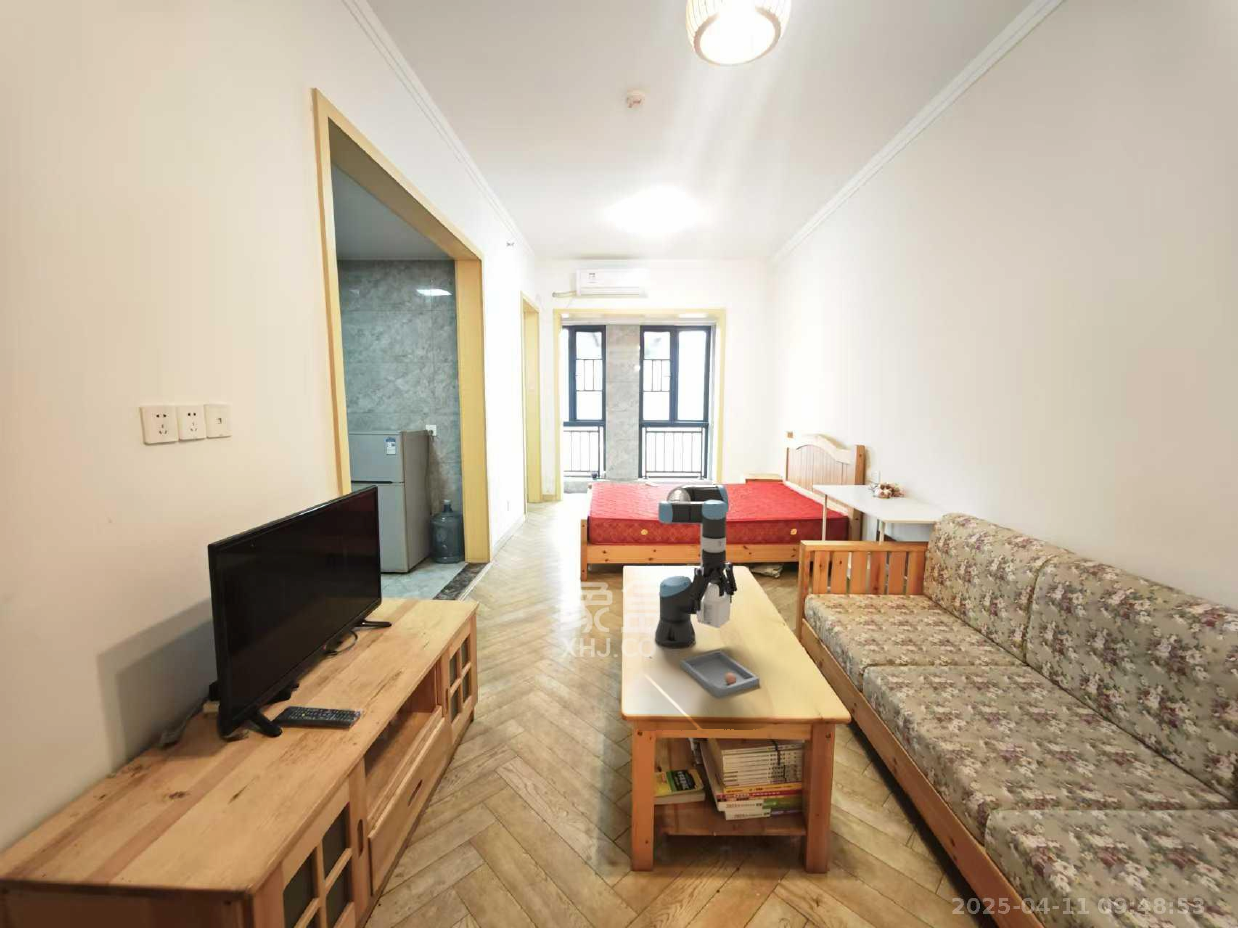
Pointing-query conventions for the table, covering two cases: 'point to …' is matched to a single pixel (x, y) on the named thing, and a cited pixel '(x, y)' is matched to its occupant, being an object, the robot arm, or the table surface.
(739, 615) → the table surface
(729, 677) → the ball
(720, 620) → the container
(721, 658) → the tray
